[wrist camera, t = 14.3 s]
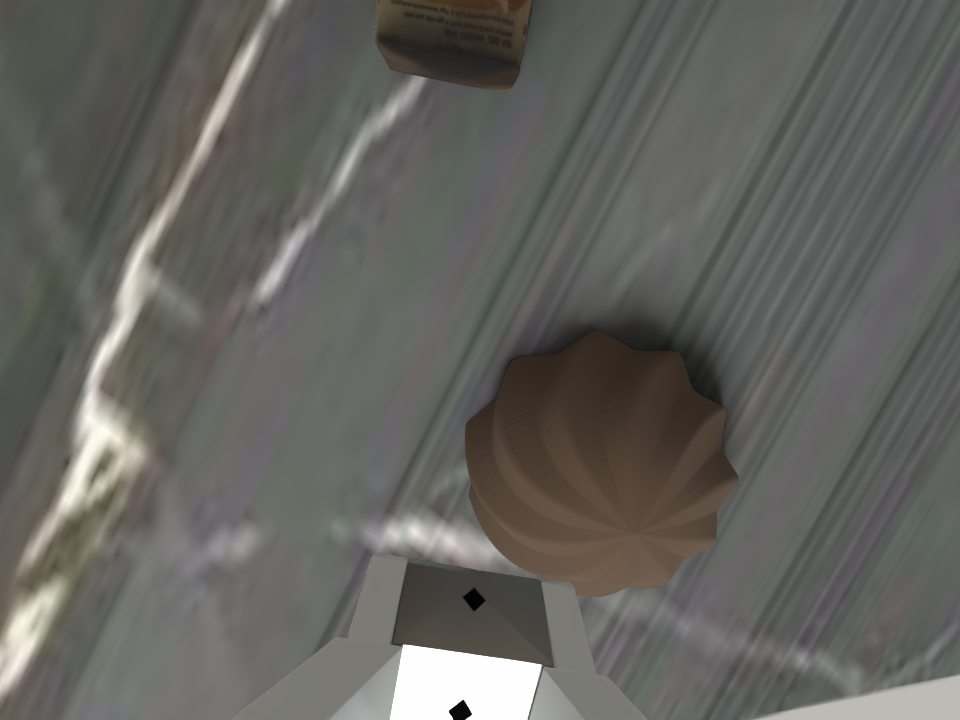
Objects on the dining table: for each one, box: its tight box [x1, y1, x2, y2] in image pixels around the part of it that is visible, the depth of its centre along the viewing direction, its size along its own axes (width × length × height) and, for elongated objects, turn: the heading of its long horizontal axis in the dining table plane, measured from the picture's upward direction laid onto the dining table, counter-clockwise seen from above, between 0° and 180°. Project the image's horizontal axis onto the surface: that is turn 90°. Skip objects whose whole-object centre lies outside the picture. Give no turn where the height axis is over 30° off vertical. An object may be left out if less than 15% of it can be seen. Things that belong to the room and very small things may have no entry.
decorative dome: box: [465, 330, 739, 597], centre depth 35 cm, size 19×20×10 cm
